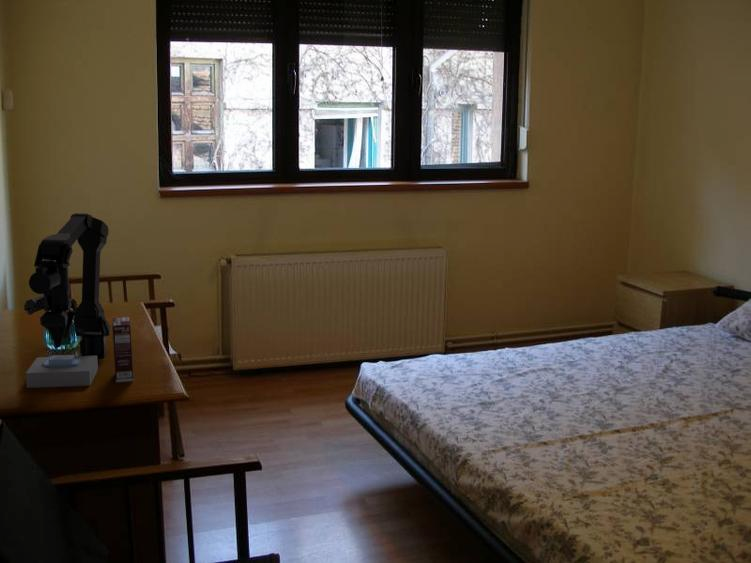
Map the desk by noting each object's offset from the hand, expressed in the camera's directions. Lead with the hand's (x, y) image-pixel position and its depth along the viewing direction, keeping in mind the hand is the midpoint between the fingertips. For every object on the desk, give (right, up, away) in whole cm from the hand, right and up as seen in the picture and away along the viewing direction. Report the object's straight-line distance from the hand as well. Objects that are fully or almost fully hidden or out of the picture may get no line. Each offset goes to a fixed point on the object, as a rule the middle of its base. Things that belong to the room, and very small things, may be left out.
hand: (61, 342), depth 240 cm
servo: (0, -10, +2) cm, 10 cm away
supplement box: (+16, -10, +4) cm, 19 cm away
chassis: (0, -10, +2) cm, 10 cm away
